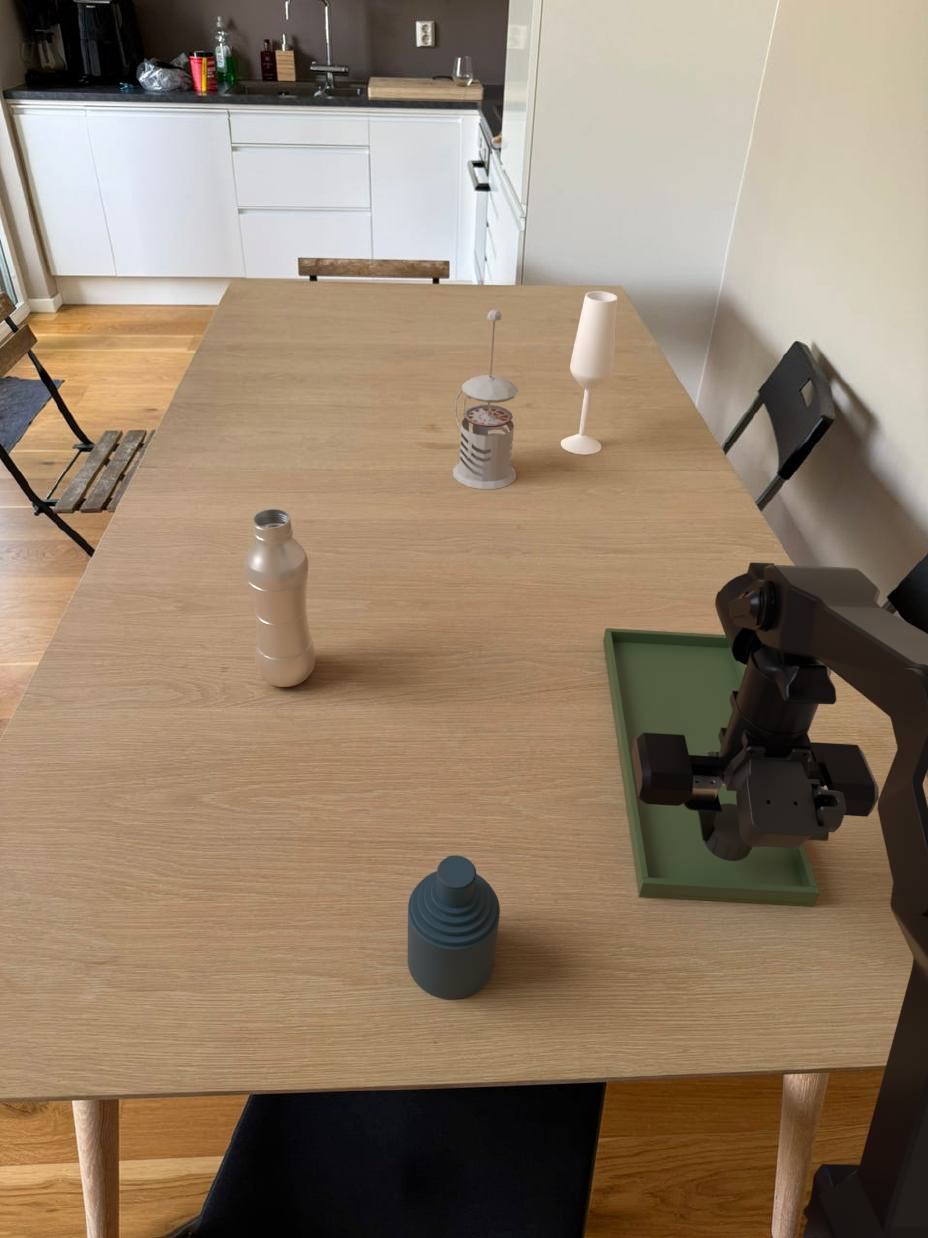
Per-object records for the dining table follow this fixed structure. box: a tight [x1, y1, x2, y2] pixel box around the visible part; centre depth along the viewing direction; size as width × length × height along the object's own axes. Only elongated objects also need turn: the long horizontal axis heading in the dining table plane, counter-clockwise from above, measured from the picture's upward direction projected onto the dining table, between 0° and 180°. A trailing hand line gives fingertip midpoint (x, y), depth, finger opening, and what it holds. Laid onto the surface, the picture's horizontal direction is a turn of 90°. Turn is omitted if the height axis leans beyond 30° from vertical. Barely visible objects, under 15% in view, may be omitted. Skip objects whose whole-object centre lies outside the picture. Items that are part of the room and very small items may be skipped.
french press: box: [452, 309, 519, 490], centre depth 129 cm, size 10×12×25 cm
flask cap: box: [704, 803, 752, 861], centre depth 77 cm, size 4×4×3 cm
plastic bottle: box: [243, 508, 317, 688], centre depth 92 cm, size 6×7×20 cm
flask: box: [407, 854, 501, 1000], centre depth 68 cm, size 7×7×12 cm
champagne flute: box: [560, 290, 618, 456], centre depth 138 cm, size 7×7×24 cm
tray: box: [602, 627, 821, 907], centre depth 91 cm, size 35×15×2 cm, turn 178°
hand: (728, 838), depth 77 cm, fingers closed on flask cap, 4 cm apart
